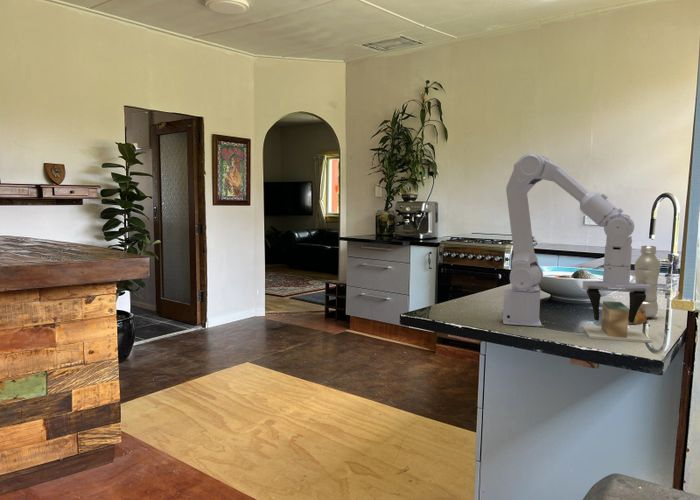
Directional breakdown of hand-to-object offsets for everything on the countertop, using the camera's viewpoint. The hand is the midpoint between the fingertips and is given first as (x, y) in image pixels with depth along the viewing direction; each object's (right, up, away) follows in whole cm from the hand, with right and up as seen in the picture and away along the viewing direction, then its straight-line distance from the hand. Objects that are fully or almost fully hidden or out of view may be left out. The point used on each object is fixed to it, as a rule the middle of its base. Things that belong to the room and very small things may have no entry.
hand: (613, 320), depth 125 cm
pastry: (+11, -3, +15) cm, 19 cm away
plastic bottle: (+19, -2, +20) cm, 28 cm away
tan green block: (0, -3, 0) cm, 3 cm away
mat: (+1, -4, +1) cm, 4 cm away
